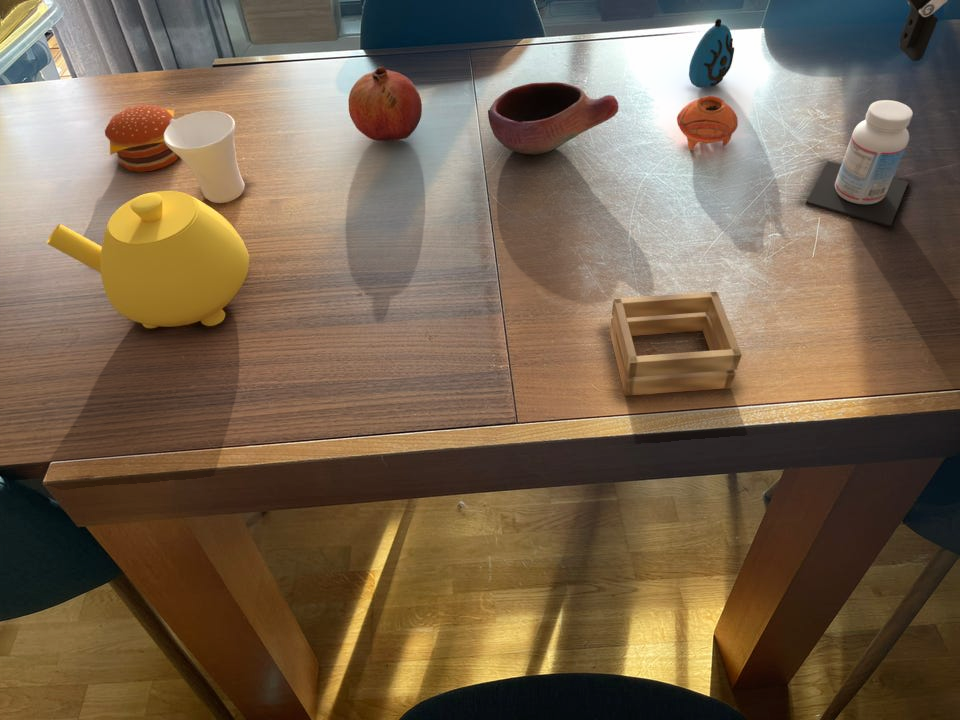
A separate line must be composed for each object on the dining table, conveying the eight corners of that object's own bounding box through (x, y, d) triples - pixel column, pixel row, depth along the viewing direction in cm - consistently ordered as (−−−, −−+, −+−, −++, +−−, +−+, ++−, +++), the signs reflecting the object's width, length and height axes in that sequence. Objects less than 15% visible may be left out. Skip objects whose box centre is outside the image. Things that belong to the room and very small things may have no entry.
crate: (707, 325, 79) (717, 290, 75) (731, 388, 73) (742, 354, 69) (609, 332, 79) (613, 298, 75) (624, 396, 73) (630, 362, 69)
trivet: (907, 183, 94) (908, 181, 93) (890, 227, 88) (891, 225, 88) (826, 162, 97) (827, 160, 97) (805, 203, 92) (805, 201, 92)
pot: (737, 126, 103) (747, 88, 97) (725, 168, 100) (736, 131, 94) (680, 116, 105) (687, 78, 99) (667, 156, 102) (673, 119, 96)
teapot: (63, 351, 81) (-4, 255, 71) (109, 258, 91) (56, 162, 81) (243, 344, 80) (201, 246, 70) (269, 251, 91) (236, 154, 80)
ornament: (702, 101, 109) (715, 34, 102) (677, 90, 111) (688, 24, 104) (736, 80, 112) (751, 14, 105) (710, 70, 115) (723, 5, 107)
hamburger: (118, 145, 108) (98, 104, 104) (184, 132, 110) (168, 90, 105) (118, 180, 102) (97, 137, 97) (188, 165, 104) (171, 122, 99)
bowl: (504, 178, 98) (503, 124, 92) (480, 129, 107) (478, 76, 101) (617, 157, 100) (623, 102, 95) (585, 110, 109) (589, 58, 103)
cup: (220, 166, 103) (196, 101, 96) (269, 184, 100) (249, 118, 92) (173, 200, 99) (144, 134, 91) (223, 220, 95) (198, 153, 88)
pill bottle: (882, 180, 94) (917, 98, 85) (886, 209, 90) (923, 126, 81) (831, 175, 95) (861, 94, 87) (833, 203, 91) (864, 121, 83)
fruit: (435, 144, 105) (428, 77, 97) (370, 164, 102) (357, 97, 95) (408, 110, 111) (399, 45, 104) (345, 128, 109) (332, 62, 101)
